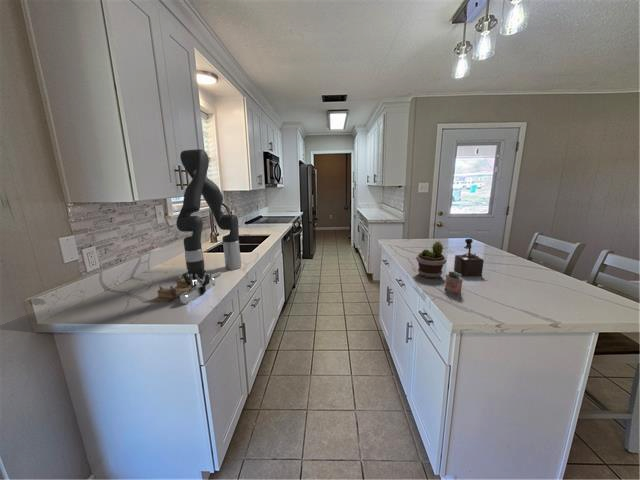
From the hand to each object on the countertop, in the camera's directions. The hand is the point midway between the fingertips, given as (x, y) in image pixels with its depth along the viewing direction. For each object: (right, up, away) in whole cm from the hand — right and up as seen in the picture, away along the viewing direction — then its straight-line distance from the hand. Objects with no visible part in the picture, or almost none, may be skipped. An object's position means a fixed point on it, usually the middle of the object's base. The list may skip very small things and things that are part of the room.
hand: (199, 293), depth 121 cm
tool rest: (-12, 0, +2) cm, 12 cm away
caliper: (-1, +3, +18) cm, 19 cm away
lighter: (+119, +1, -4) cm, 119 cm away
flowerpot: (+118, +6, +17) cm, 119 cm away
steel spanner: (0, 0, 0) cm, 0 cm away
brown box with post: (+140, +7, +22) cm, 142 cm away
